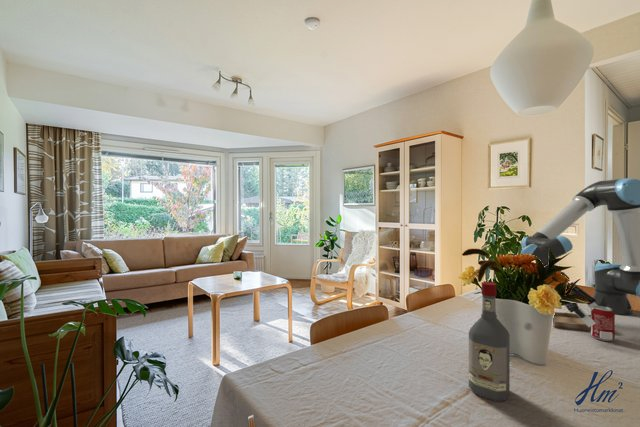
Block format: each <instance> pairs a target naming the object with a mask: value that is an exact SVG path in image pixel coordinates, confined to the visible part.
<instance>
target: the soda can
mask: <svg viewBox="0 0 640 427" xmlns="http://www.w3.org/2000/svg"><path fill="white" fill-rule="evenodd" d="M590 315H591V319H592V320H593V321H594V322H595V323H596V324H594V325H592V326H591V331H590V335H591V337H593V338H594V339H596V340H599V341H602V342H613V341H615V338H616V336H615V335H616V332H615V331H616V330H615V328H616V326H615V323H616V321H615V320H616V319H615V318H616V314H614V313H613V312H612V309H611V308H608V307H603V306H593V309H592V310H591V309H590Z"/></svg>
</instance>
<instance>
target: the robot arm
mask: <svg viewBox="0 0 640 427" xmlns="http://www.w3.org/2000/svg"><path fill="white" fill-rule="evenodd" d="M600 206H606V208H607V211H608V212H610V213H611V214H612V215H613V219H614V225H615V229H616V234H617V239H618V245H619V249H620V254H621V259H622V263H597V264H596V265H595V267H594V293H593V296H591V295H590V294H588V293H587V292H586V291H585V290H583V289H582V288H580V287H579V286H578V285H577V284H575V286H574V288H573V289H572V291H571V292H570V294H572V295H577V296H581V297H583V298H585V299H587V300H588V301H589V302H590V303H585V304H586V305H587V307H588V308H589V309H590V311H591V310H592V309H593V306H603V307H608V308H611V309H612V312H613V313H614V314H615V315H624V316H625V315H626V316H627V315H632V314H633V308H632V305H631V303H630V300H629V297H628V294H629V295H631V296H635V297H638V298H640V179H638V178H634V177H633V178H626V177H625V178H617V179H616V178H615V179H608V180H601V181H600V180H599V181H596V182H593V183H591V184H590V185H588V186H586V187H585V188H583V189H582V190H580V191H579V192H578V193H577V194H576V195H574V196H573V197H572V201H571V202H569V204H567V206H565V207H564V208H563V209H562V210H561V211H559V212H558V213H557V214H556V215H555V216H553V217H552V218H551V219H550V220H549V221H548V222H546V224H544V225H543V226H542V227H541V228H540V229H539V230H537V231H536V232H535V233H534V234H533V235H529V236H525V237H523V238H522V240H521V243H520V246H521V248H522V249H521V250H520V255H521V254H531V255H535V256H537V257H538V258H539V259H540V260H541V262H542V263H543V265H544V266H546V265H548V247H549V248H550V250H551V251H552V253H553V254H554V256H555V259H557V258H559V257H561V256H564V255H566V254H567V253H569V252H570V251H571V250H573V244H572V241H571V240H570V239H569V238H568V237H566V236H563V235H562V234H563V233H564V232H565V231H566V230H567V229H569V227H571V226H572V225H573V224H574V223H576V222H577V221H579V219H580V218H581V217H583V216H584V215H585V214H586V213H587V212H591V211H593V210H595V209H596V208H598V207H600ZM555 265H556V266H558V265H557V264H556V263H555ZM561 274H562V275H565V276H566V277H567V278H568V279H569V280H570V277H569V276H568V275H567V274H566V273H565V272H564V271H561ZM573 283H574V282H573V281H572V282H570V283H569V282H568V285H567V289H566V291H567V290H568V289H569V287H570V285H572V284H573ZM564 306H565V307H566V309H567V310H568V311H569V313H574V314H577V315H578V316H579V317H580V318H581V320H582V321H583V322H584V323H585V324H586V325H587V326H588V327H590V326H592V325H594V324H596V323H595V322H594V321H593V320H592V319H591V318H590V317H589V316H588V315H589V314H587V312H586V311H585V310H584V309H583V308H582V307H580V306H579V305H578V303H577V302H576V303H571V304H568V305H565V304H564Z"/></svg>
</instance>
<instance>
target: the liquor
mask: <svg viewBox="0 0 640 427" xmlns="http://www.w3.org/2000/svg"><path fill="white" fill-rule="evenodd" d="M480 294H481V295H482V296H481V299H482V300H481V301H482V303H481V306H482V307H481V308H482V309H481V314H480V318H478V319H477V321H476V322H474V324H473V325H472V326H471V327H470V329H469V330H468V387H469V389H470V388H471V389H472V390H473V391H472V390H471V389H470V390H471V391H472V392H473V393H474V394H475V395H476V394H478V395H477V396H479V395H481V396H480V397H482V396H484V397H487V398H489V399H488V400H490V399H492V400H491V401H493V400H495V401H494V402H503V401H502V400H505V401H506V400H507V398H508V395H509V393H510V389H511V388H510V387H511V386H510V384H511V383H510V376H511V374H510V368H511V367H510V365H511V364H510V359H511V358H510V349H511V348H510V344H511V343H510V340H511V339H510V336H511V335H510V333H509V331H508V329H507V328H506V327H505V326H504V324H503V323H502V322H501V321H500V320H499V319H498V318H497V316H498V315H497V311H496V310H497V308H496V307H497V306H496V303H497V302H496V296H497V283H495V282H489V281H483V282H481V293H480ZM484 397H483V398H484ZM487 398H486V399H487Z"/></svg>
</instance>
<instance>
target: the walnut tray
mask: <svg viewBox="0 0 640 427" xmlns="http://www.w3.org/2000/svg"><path fill="white" fill-rule="evenodd" d="M554 312H555V315H554V318H553V326H552V327H553V328H555V329H564V330H573V331H574V330H575V331H585V332H591V326H590V327H588V326H587V325H586V324H585V323H584V322H583V321H582V320H581V318H580V317H579V316H578V315H577V314H576V313H575V312H560V311H554ZM587 315H588V316H589V317H590V318H591V314H587Z"/></svg>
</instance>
